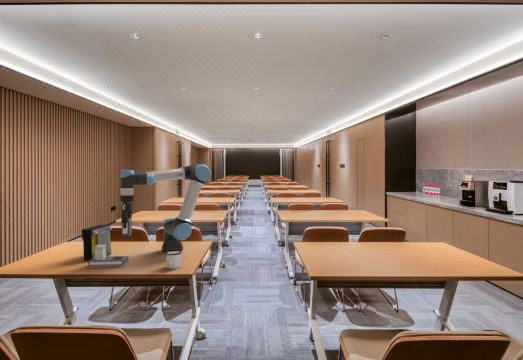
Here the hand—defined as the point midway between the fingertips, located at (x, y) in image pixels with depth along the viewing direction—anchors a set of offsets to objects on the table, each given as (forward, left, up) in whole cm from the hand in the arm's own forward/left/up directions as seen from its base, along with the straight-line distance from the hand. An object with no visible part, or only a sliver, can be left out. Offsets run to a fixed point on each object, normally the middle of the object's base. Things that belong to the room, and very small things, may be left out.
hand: (126, 232), depth 188 cm
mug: (-30, +10, -20) cm, 37 cm away
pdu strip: (+10, +1, -19) cm, 22 cm away
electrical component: (+24, -17, -20) cm, 35 cm away
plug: (0, 0, -2) cm, 2 cm away
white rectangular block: (+15, +1, -18) cm, 24 cm away
